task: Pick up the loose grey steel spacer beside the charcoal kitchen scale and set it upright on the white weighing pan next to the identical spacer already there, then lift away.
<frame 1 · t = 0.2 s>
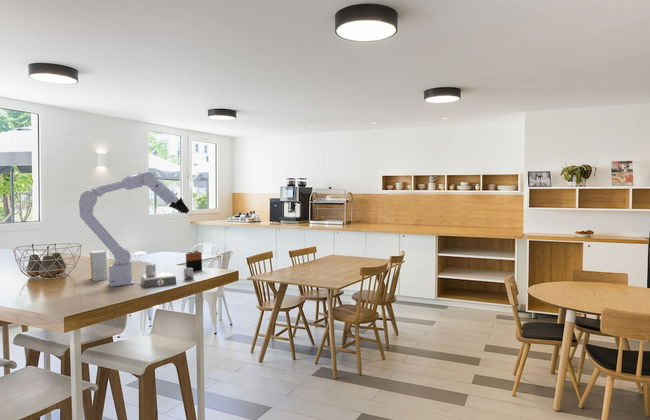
hand: (186, 211, 210), 31 cm above the table, tool tilted 45°, fingers open, 7 cm apart
kitchen scale: (158, 283, 197), on the table
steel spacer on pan: (151, 276, 195), point 4 cm above the table, touching kitchen scale
steel spacer: (188, 279, 205), on the table
small box: (99, 279, 212), on the table
battery: (194, 271, 227), on the table
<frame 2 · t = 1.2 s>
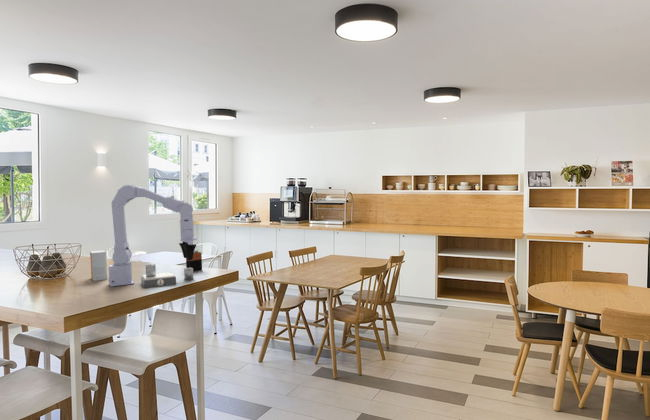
hand: (188, 258, 205), 9 cm above the table, tool pointing down, fingers open, 7 cm apart
nothing on the table moved.
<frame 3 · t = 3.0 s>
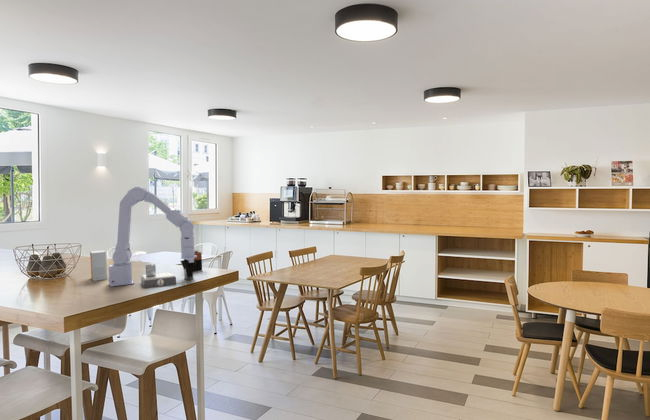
hand: (188, 276, 205), 1 cm above the table, tool pointing down, fingers closed on steel spacer, 4 cm apart
steel spacer: (188, 279, 205), on the table, touching gripper
everything else where it was.
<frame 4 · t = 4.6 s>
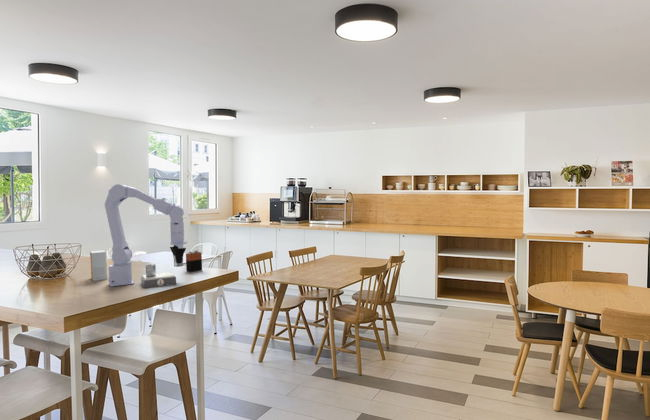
hand: (178, 262, 202), 8 cm above the table, tool pointing down, fingers closed on steel spacer, 4 cm apart
steel spacer: (178, 265, 202), point 7 cm above the table, touching gripper
everything else where it was.
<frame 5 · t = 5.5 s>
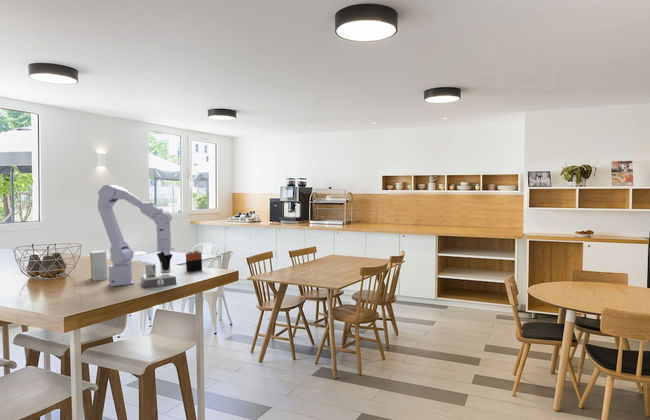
hand: (165, 269, 198), 6 cm above the table, tool pointing down, fingers closed on steel spacer, 4 cm apart
steel spacer: (165, 272, 198), point 5 cm above the table, touching gripper
everything else where it was.
when the fingers open (6 cm above the table, at t = 6.2 s): steel spacer stays where it is, resting on kitchen scale.
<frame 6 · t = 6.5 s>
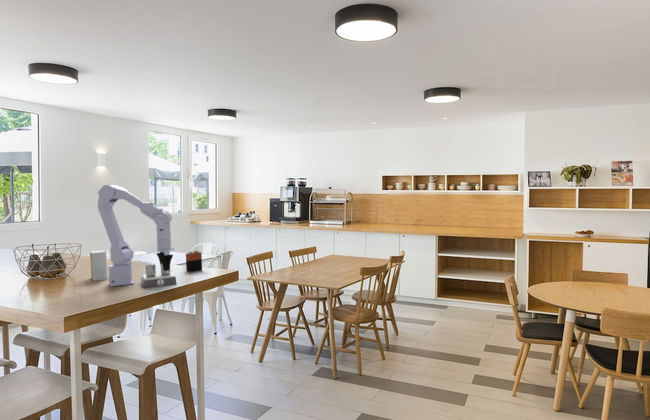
hand: (165, 269, 198), 6 cm above the table, tool pointing down, fingers open, 6 cm apart
steel spacer: (165, 274, 198), point 4 cm above the table, touching kitchen scale
everything else where it was.
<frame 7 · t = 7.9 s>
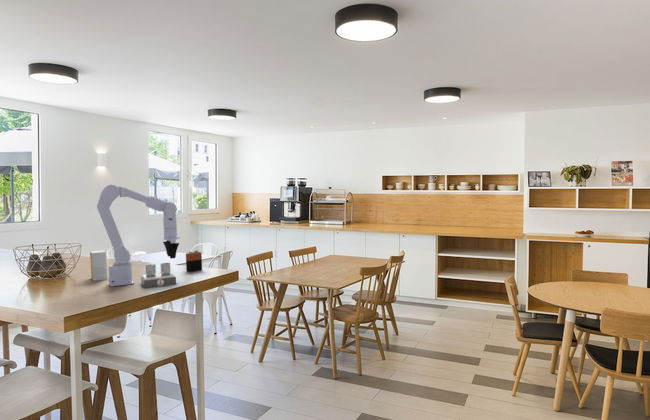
hand: (171, 257, 207), 10 cm above the table, tool pointing down, fingers open, 7 cm apart
nothing on the table moved.
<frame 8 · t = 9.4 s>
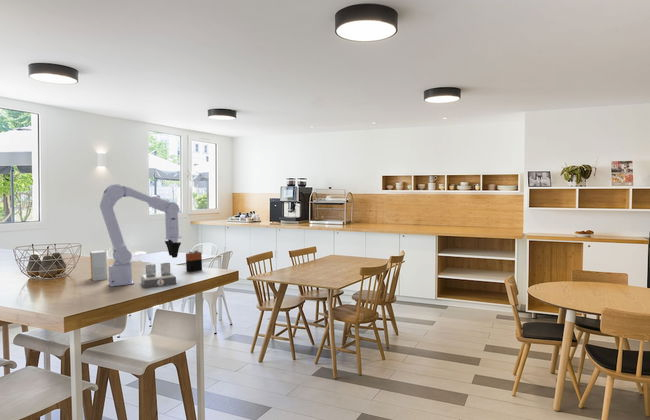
hand: (173, 256, 210), 10 cm above the table, tool pointing down, fingers open, 7 cm apart
nothing on the table moved.
at the end: steel spacer 0.1 cm from the target spot on the kitchen scale, point 3.6 cm above the kitchen scale's base; steel spacer tilted 1°; the gripper is holding nothing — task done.
